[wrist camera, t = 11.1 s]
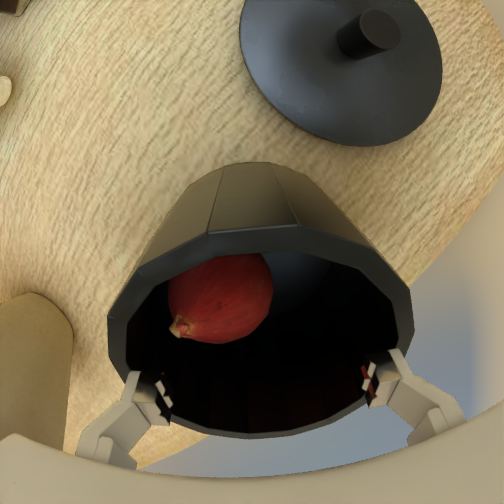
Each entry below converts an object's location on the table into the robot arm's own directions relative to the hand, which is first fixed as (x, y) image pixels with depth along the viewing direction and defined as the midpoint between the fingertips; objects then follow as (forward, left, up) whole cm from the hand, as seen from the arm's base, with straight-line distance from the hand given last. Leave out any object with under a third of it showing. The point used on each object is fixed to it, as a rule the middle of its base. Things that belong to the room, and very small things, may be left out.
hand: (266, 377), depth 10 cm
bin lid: (-7, -14, -10) cm, 19 cm away
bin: (0, 0, -11) cm, 11 cm away
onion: (0, 0, -10) cm, 10 cm away
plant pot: (+22, +6, -11) cm, 25 cm away
